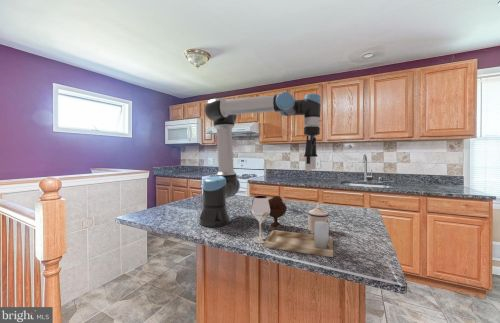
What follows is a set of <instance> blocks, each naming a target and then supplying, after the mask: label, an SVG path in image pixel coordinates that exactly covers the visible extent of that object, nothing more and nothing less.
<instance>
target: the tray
mask: <svg viewBox="0 0 500 323" xmlns="http://www.w3.org/2000/svg"><path fill="white" fill-rule="evenodd" d="M266 238H267V239H266V240H265V242H264V243H263V248H269V249H276V250H281V251H282V250H283V251H287V252H295V253H296V252H297V253H303V254H311V255H315V256H323V257H329V258H330V257H331V258H334V242H333V237H332V236H328V249H327V250H326V249H319V248H315V247H314V234H312V233H311V234H309V233H301V232H293V231H292V232H291V231H284V230H276V229H272V231H271V232H270V233H269V234H268V236H267V237H266Z"/></svg>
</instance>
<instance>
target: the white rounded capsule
mask: <svg viewBox="0 0 500 323" xmlns="http://www.w3.org/2000/svg"><path fill="white" fill-rule="evenodd" d="M329 224H330V223H329V222H328V223H327V222H324V221H316V222H315V224H314V232H313V235H314V247H315V248H319V249H326V250H327V249H328V237H330V236H329V232H330V230H329V228H330V226H329Z"/></svg>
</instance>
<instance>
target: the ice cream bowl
mask: <svg viewBox="0 0 500 323" xmlns="http://www.w3.org/2000/svg"><path fill="white" fill-rule="evenodd" d="M268 201H269V205H270V214H269V216H270V217H272V218H273V222H272V223H270V225H269V226H270V227H271V228H278V227H279V226H282V224H281V223H280V222H278V219H279V218H281V217H283V216H284V215H285V214H286V212H287V210H288V209H287V208H288V207H287V205H286V203H284V202H283V198H282V197H281V196H279V195H275V196H273V197H272V198H268Z"/></svg>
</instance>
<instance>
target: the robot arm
mask: <svg viewBox="0 0 500 323" xmlns="http://www.w3.org/2000/svg"><path fill="white" fill-rule="evenodd" d="M321 106H322V103H321V96H320V94H318V93H309V94H308V93H307V94H306V95H304V99H295V97H294V95H293V94H291V93H290V92H289V91H282V92H280V93H278V94H273V95H263V96H250V97H240V98H230V99H227V98H226V97H216V98H211V99H209V100H208V101H207V102H206V103H205V105H204V114H205V116H206V117H207V118H208V119H209V120H210V121H212V122H213V128H214V129H215V130H216V140H217V142H216V143H217V144H216V145H217V162H218V163H217V164H218V172H217V173H216V174H215V175H214V176H208V177H206V178H204V179H203V181H202V209H201V213H200V216H199V225H201V226H203V227H208V228H215V227H216V228H217V227H222V226H223V227H224V226H226V225H228V224H229V223H230V216H229V213H228V210H227V206H226V205H227V203H226V202H227V199H229V198H232V197H234V196H235V195H236V194H238V192H239V191H240V189H241V184H240V180H239V179H238V178H237V172H236V171H235V170H234V152H233V151H234V148H233V146H234V145H233V129H234V127H235V122H236V120H237V117H238V115H247V114H259V113H260V114H261V113H274V112H275V113H277V112H279V113H280V115H281V116H283V117H284V116H286V117H291V116H292V117H293V116H304V117H303V126H304V127H303V134H304V135H305V136H306V142H305V151H304V152H305V153H304V154H303V157H304V158H305V170H304V171H305V172H312V170H316V168H317V167H316V166H317V162H316V161H317V157H318V154H317V137H316V136H319V135H320V134H321V133H320V132H321V130H320V129H321V127H320V125H321V122H322V119H321V108H322V107H321Z"/></svg>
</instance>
